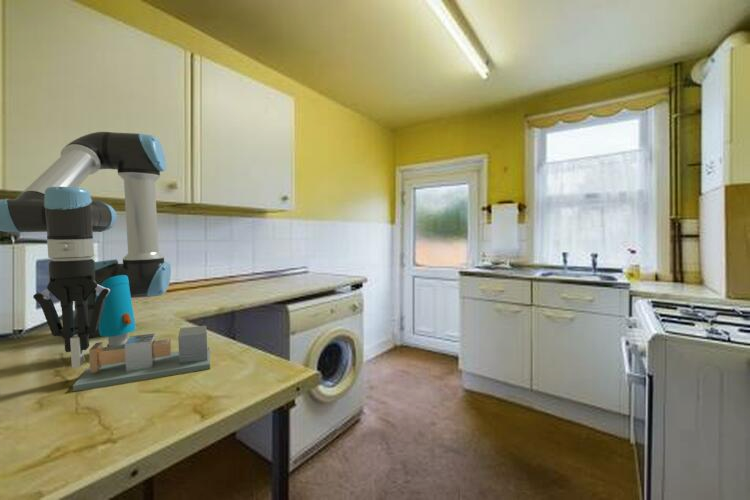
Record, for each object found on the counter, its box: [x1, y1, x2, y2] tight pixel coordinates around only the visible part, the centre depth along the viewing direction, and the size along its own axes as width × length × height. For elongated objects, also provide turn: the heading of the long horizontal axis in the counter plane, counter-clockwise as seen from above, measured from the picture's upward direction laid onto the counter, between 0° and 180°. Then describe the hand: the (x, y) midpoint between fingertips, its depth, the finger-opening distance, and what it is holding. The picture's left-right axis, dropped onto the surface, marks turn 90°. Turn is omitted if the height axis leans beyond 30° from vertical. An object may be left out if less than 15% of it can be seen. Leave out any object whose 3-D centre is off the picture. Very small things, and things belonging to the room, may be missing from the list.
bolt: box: [88, 338, 172, 373], centre depth 81 cm, size 5×15×5 cm, turn 116°
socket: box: [177, 325, 208, 365], centre depth 86 cm, size 8×6×7 cm
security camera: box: [93, 275, 137, 347], centre depth 93 cm, size 8×21×10 cm
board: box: [72, 346, 211, 392], centre depth 83 cm, size 13×26×1 cm, turn 116°
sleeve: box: [125, 333, 156, 372], centre depth 82 cm, size 7×5×6 cm
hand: (78, 364), depth 76 cm, fingers closed
